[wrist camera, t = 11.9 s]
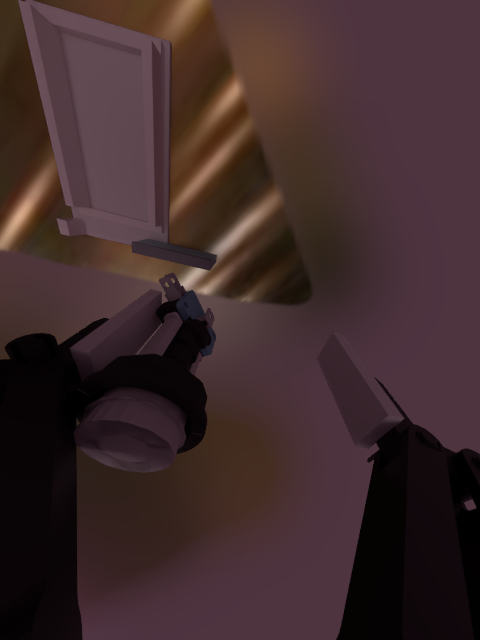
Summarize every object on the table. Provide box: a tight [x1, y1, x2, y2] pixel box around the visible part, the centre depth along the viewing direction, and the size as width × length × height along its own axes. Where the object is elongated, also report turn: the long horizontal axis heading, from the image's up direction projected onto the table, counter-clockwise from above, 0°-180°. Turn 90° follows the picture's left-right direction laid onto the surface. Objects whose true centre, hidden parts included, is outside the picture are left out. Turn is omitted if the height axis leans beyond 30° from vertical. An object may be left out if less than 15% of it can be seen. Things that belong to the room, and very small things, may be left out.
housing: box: [18, 0, 171, 245], centre depth 23 cm, size 22×14×3 cm
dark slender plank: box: [131, 239, 217, 270], centre depth 27 cm, size 1×11×4 cm, turn 78°
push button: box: [71, 273, 216, 472], centre depth 11 cm, size 7×5×10 cm
